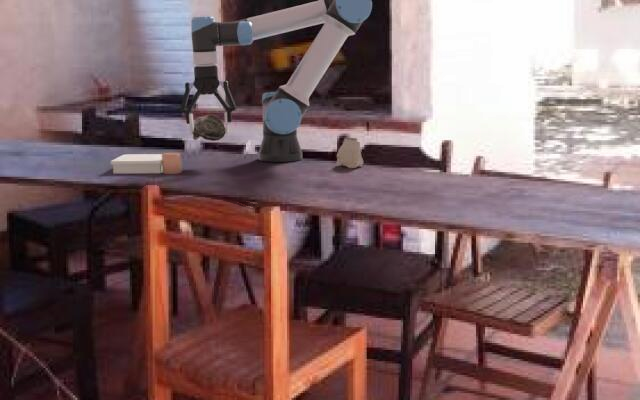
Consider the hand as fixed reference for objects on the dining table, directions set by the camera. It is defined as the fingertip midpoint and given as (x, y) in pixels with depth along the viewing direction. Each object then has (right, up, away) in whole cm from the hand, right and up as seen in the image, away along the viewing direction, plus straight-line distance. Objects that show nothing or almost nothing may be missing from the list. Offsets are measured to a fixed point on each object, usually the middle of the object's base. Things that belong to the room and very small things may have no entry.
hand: (209, 133), depth 301 cm
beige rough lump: (+45, -11, -1) cm, 47 cm away
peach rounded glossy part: (-11, -13, -8) cm, 19 cm away
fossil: (0, -2, 0) cm, 2 cm away
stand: (-22, -12, -2) cm, 25 cm away
